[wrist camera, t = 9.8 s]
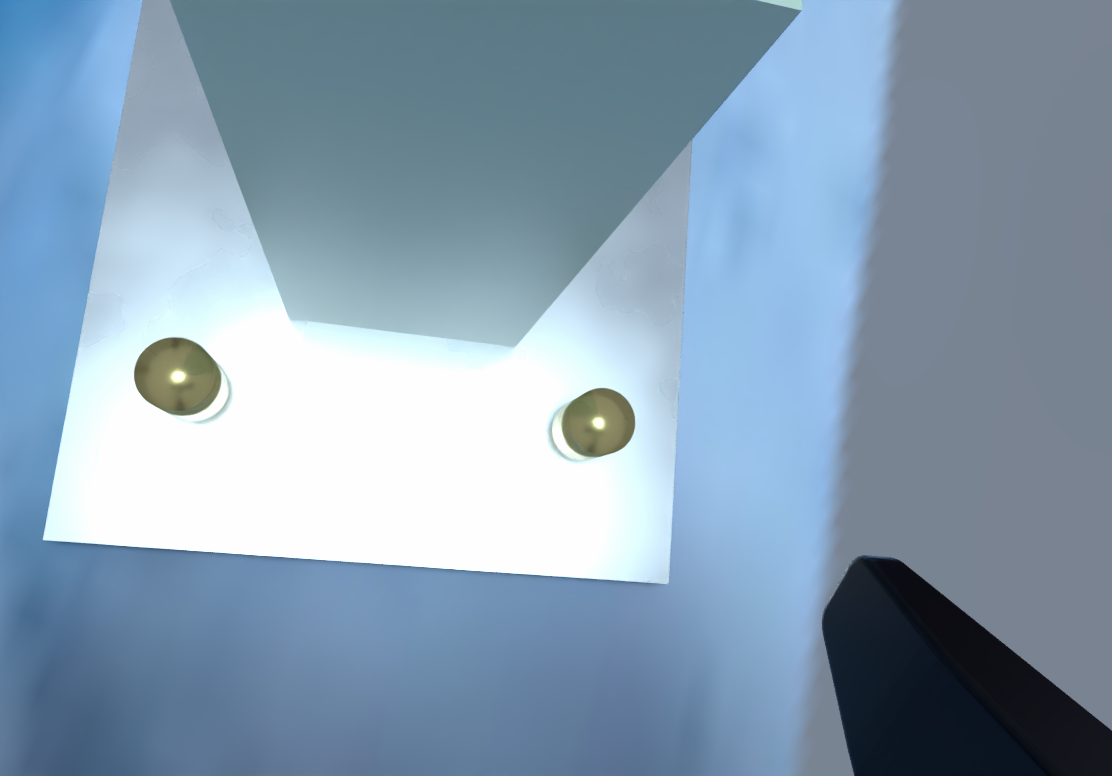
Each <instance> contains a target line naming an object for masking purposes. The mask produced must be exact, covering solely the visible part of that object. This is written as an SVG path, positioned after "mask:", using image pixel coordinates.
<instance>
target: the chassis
mask: <svg viewBox="0 0 1112 776" xmlns="http://www.w3.org/2000/svg"><path fill="white" fill-rule="evenodd" d="M691 154H692V140H691V141H690V142H689V144H688V145H687V146H686V147H685V148H684V150H683V151H682V152H681V153H680V154H679V155H678V157H677V158H676V159H675V160H674V161H673V162H672V164H671V165H670V166H669V167H668V168H667V170H666V171H665V172H664V173H663V174H662V175H661V177H660V178H659V179H658V180H657V181H656V182H655V184H654V185H653V186H652V187H651V188H650V190H649V191H648V192H647V193H646V194H645V195H644V197H643V198H642V199H641V200H640V201H639V202H638V204H637V205H636V206H635V207H634V208H633V210H632V211H631V212H630V213H629V214H628V215H627V217H626V218H625V219H624V220H623V221H622V222H621V224H620V225H619V226H618V227H617V228H616V230H615V231H614V232H613V233H612V234H611V235H610V237H609V238H608V239H607V240H606V241H605V242H604V244H603V245H602V246H601V247H600V248H599V250H598V251H597V252H596V253H595V254H594V255H593V257H592V258H591V259H590V260H589V261H588V262H587V264H586V265H585V266H584V267H583V268H582V270H581V271H580V272H579V273H578V274H577V275H576V277H575V278H574V279H573V280H572V281H571V282H570V284H569V285H568V286H567V287H566V288H565V289H564V291H563V292H562V293H561V294H560V295H559V297H558V298H557V299H556V300H555V301H554V302H553V304H552V305H551V306H550V307H549V308H548V309H547V311H546V312H545V313H544V314H543V315H542V317H541V318H540V319H539V320H538V321H537V322H536V324H535V325H534V326H533V327H532V328H531V329H530V331H529V332H528V333H527V334H526V335H525V337H524V338H523V339H522V340H521V341H520V342H519V344H518V345H517V346H516V347H510V346H502V345H494V344H486V343H478V342H470V341H462V340H454V339H446V338H438V337H430V336H422V335H414V334H406V333H398V332H390V331H382V330H374V329H366V328H358V327H350V326H343V325H335V324H327V323H319V322H311V321H303V320H295V319H289V318H288V315H287V313H286V310H285V307H284V304H283V302H282V299H281V296H280V294H279V291H278V288H277V286H276V283H275V280H274V278H273V275H272V272H271V270H270V267H269V264H268V262H267V259H266V256H265V254H264V251H263V248H262V246H261V243H260V240H259V238H258V235H257V232H256V230H255V227H254V224H253V222H252V219H251V216H250V214H249V211H248V208H247V205H246V203H245V200H244V197H243V195H242V192H241V189H240V187H239V184H238V181H237V179H236V176H235V173H234V171H233V168H232V165H231V163H230V160H229V157H228V155H227V152H226V149H225V147H224V144H223V141H222V139H221V136H220V133H219V131H218V128H217V125H216V123H215V120H214V117H213V114H212V112H211V109H210V106H209V104H208V101H207V98H206V96H205V93H204V90H203V88H202V85H201V82H200V80H199V77H198V74H197V72H196V69H195V66H194V64H193V61H192V58H191V56H190V53H189V50H188V48H187V45H186V42H185V40H184V37H183V34H182V32H181V29H180V26H179V24H178V21H177V18H176V15H175V13H174V10H173V7H172V5H171V2H170V0H143V2H142V7H141V13H140V18H139V24H138V29H137V34H136V40H135V45H134V51H133V56H132V61H131V67H130V72H129V78H128V83H127V88H126V94H125V99H124V105H123V110H122V115H121V121H120V126H119V131H118V137H117V142H116V148H115V153H114V158H113V164H112V169H111V175H110V180H109V185H108V191H107V196H106V202H105V207H104V212H103V218H102V223H101V229H100V234H99V239H98V245H97V250H96V256H95V261H94V266H93V272H92V277H91V283H90V288H89V293H88V299H87V304H86V310H85V315H84V320H83V326H82V331H81V337H80V342H79V347H78V353H77V358H76V364H75V369H74V374H73V380H72V385H71V391H70V396H69V401H68V407H67V412H66V417H65V423H64V428H63V434H62V439H61V444H60V450H59V455H58V461H57V466H56V471H55V477H54V482H53V488H52V493H51V498H50V504H49V509H48V515H47V520H46V525H45V531H44V536H43V540H50V541H64V542H79V543H93V544H107V545H121V546H135V547H150V548H164V549H178V550H192V551H206V552H221V553H235V554H249V555H263V556H277V557H292V558H306V559H320V560H334V561H348V562H363V563H377V564H391V565H405V566H419V567H434V568H448V569H462V570H476V571H490V572H504V573H519V574H533V575H547V576H561V577H575V578H590V579H604V580H618V581H632V582H646V583H661V584H669V569H670V550H671V531H672V512H673V493H674V474H675V456H676V437H677V418H678V399H679V380H680V361H681V342H682V324H683V305H684V286H685V267H686V248H687V229H688V210H689V192H690V173H691Z"/></svg>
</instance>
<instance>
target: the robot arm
mask: <svg viewBox="0 0 1112 776" xmlns="http://www.w3.org/2000/svg"><path fill="white" fill-rule="evenodd" d="M822 631H823V636H824V641H825V646H826V650H827V655H828V659H829V664H830V669H831V673H832V678H833V683H834V687H835V692H836V697H837V701H838V706H839V711H840V715H841V720H842V725H843V729H844V734H845V738H846V743H847V748H848V752H849V756H850V760H851V764H852V768H853V772H854V776H1112V731H1111V730H1110V729H1109V728H1108V727H1107V726H1105V725H1104V724H1103V723H1102V722H1100V721H1099V720H1098V719H1097V718H1095V717H1094V716H1093V715H1092V714H1090V713H1089V712H1088V711H1087V710H1085V709H1084V708H1083V707H1082V706H1081V705H1079V704H1078V703H1077V702H1076V701H1074V700H1073V699H1072V698H1070V697H1069V696H1068V695H1067V694H1066V693H1064V692H1063V691H1062V690H1061V689H1059V688H1058V687H1056V685H1054V684H1053V683H1052V682H1051V681H1049V680H1048V679H1047V678H1046V677H1044V676H1043V675H1042V674H1041V673H1039V672H1038V671H1037V670H1035V669H1034V668H1033V667H1032V666H1031V665H1030V664H1028V663H1027V662H1026V661H1024V660H1023V659H1022V658H1021V657H1020V656H1018V655H1017V654H1016V653H1015V652H1013V651H1012V650H1011V649H1010V648H1008V647H1007V646H1006V645H1005V644H1003V643H1002V642H1001V641H1000V640H998V639H997V638H996V637H995V636H993V635H992V634H991V633H990V632H989V631H987V630H986V629H985V628H984V627H982V626H981V625H980V624H979V623H977V622H976V621H975V620H974V619H972V618H971V617H970V616H969V615H967V614H966V613H965V612H964V611H962V610H961V609H960V608H959V607H957V606H956V605H955V604H954V603H952V602H951V601H950V600H949V599H947V598H946V597H945V596H944V595H943V594H941V593H940V592H939V591H938V590H936V589H935V588H934V587H932V586H931V585H930V584H929V583H928V582H926V581H925V580H924V579H923V578H921V577H920V576H919V575H918V574H916V573H915V572H914V571H913V570H911V569H910V568H909V567H908V566H907V565H905V564H904V563H903V562H901V561H899V560H897V559H895V558H891V557H879V556H867V555H862V556H858V557H857V558H855V559H854V560H853V561H851V563H850V564H849V566H848V567H847V569H846V571H845V573H844V574H843V576H842V578H841V580H840V581H839V583H838V585H837V587H836V589H835V590H834V592H833V594H832V595H831V597H830V599H829V601H828V602H827V604H826V606H825V608H824V612H823V617H822Z"/></svg>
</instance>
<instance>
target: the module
mask: <svg viewBox="0 0 1112 776" xmlns="http://www.w3.org/2000/svg"><path fill="white" fill-rule="evenodd" d="M170 2H171V5H172V7H173V10H174V13H175V15H176V18H177V21H178V24H179V26H180V29H181V32H182V34H183V37H184V40H185V42H186V45H187V48H188V50H189V53H190V56H191V58H192V61H193V64H194V66H195V69H196V72H197V74H198V77H199V80H200V82H201V85H202V88H203V90H204V93H205V96H206V98H207V101H208V104H209V106H210V109H211V112H212V114H213V117H214V120H215V123H216V125H217V128H218V131H219V133H220V136H221V139H222V141H223V144H224V147H225V149H226V152H227V155H228V157H229V160H230V163H231V165H232V168H233V171H234V173H235V176H236V179H237V181H238V184H239V187H240V189H241V192H242V195H243V197H244V200H245V203H246V205H247V208H248V211H249V214H250V216H251V219H252V222H253V224H254V227H255V230H256V232H257V235H258V238H259V240H260V243H261V246H262V248H263V251H264V254H265V256H266V259H267V262H268V264H269V267H270V270H271V272H272V275H273V278H274V280H275V283H276V286H277V288H278V291H279V294H280V296H281V299H282V302H283V304H284V307H285V310H286V313H287V315H288V318H289V319H295V320H303V321H311V322H319V323H327V324H335V325H343V326H350V327H358V328H366V329H374V330H382V331H390V332H398V333H406V334H414V335H422V336H430V337H438V338H446V339H454V340H462V341H470V342H478V343H486V344H494V345H502V346H510V347H516V346H517V345H518V344H519V342H520V341H521V340H522V339H523V338H524V337H525V335H526V334H527V333H528V332H529V331H530V329H531V328H532V327H533V326H534V325H535V324H536V322H537V321H538V320H539V319H540V318H541V317H542V315H543V314H544V313H545V312H546V311H547V309H548V308H549V307H550V306H551V305H552V304H553V302H554V301H555V300H556V299H557V298H558V297H559V295H560V294H561V293H562V292H563V291H564V289H565V288H566V287H567V286H568V285H569V284H570V282H571V281H572V280H573V279H574V278H575V277H576V275H577V274H578V273H579V272H580V271H581V270H582V268H583V267H584V266H585V265H586V264H587V262H588V261H589V260H590V259H591V258H592V257H593V255H594V254H595V253H596V252H597V251H598V250H599V248H600V247H601V246H602V245H603V244H604V242H605V241H606V240H607V239H608V238H609V237H610V235H611V234H612V233H613V232H614V231H615V230H616V228H617V227H618V226H619V225H620V224H621V222H622V221H623V220H624V219H625V218H626V217H627V215H628V214H629V213H630V212H631V211H632V210H633V208H634V207H635V206H636V205H637V204H638V202H639V201H640V200H641V199H642V198H643V197H644V195H645V194H646V193H647V192H648V191H649V190H650V188H651V187H652V186H653V185H654V184H655V182H656V181H657V180H658V179H659V178H660V177H661V175H662V174H663V173H664V172H665V171H666V170H667V168H668V167H669V166H670V165H671V164H672V162H673V161H674V160H675V159H676V158H677V157H678V155H679V154H680V153H681V152H682V151H683V150H684V148H685V147H686V146H687V145H688V144H689V142H690V141H691V140H692V139H693V138H694V137H695V135H696V134H697V133H698V132H699V131H700V130H701V128H702V127H703V126H704V125H705V124H706V122H707V121H708V120H709V119H710V118H711V117H712V115H713V114H714V113H715V112H716V111H717V110H718V108H719V107H720V106H721V105H722V104H723V102H724V101H725V100H726V99H727V98H728V97H729V95H730V94H731V93H732V92H733V91H734V90H735V88H736V87H737V86H738V85H739V84H740V82H741V81H742V80H743V79H744V78H745V77H746V75H747V74H748V73H749V72H750V71H751V70H752V68H753V67H754V66H755V65H756V64H757V62H758V61H759V60H760V59H761V58H762V57H763V55H764V54H765V53H766V52H767V51H768V50H769V48H770V47H771V46H772V45H773V44H774V43H775V41H776V40H777V39H778V38H779V37H780V35H781V34H782V33H783V32H784V31H785V30H786V28H787V27H788V26H789V25H790V24H791V23H792V21H793V20H794V19H795V18H796V17H797V15H798V14H799V13H800V12H801V11H802V0H170Z"/></svg>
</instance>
